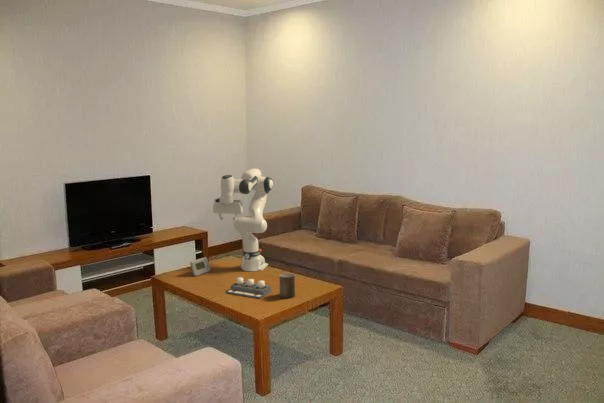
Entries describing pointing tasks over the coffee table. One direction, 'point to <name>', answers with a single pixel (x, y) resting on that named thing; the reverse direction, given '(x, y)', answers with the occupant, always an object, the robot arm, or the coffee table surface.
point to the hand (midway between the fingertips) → (228, 219)
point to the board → (249, 290)
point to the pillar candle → (287, 285)
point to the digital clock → (200, 266)
